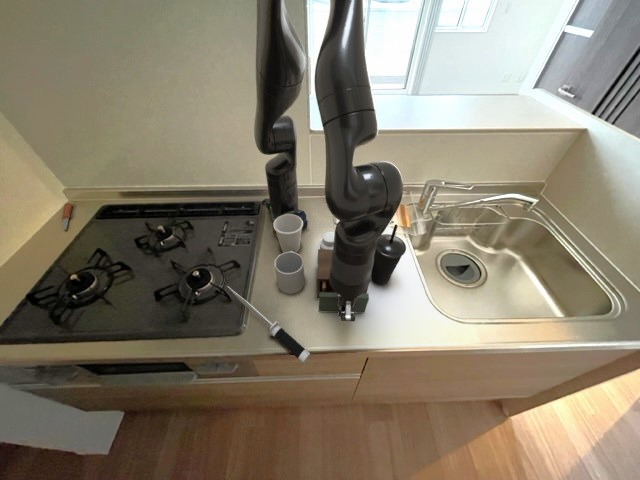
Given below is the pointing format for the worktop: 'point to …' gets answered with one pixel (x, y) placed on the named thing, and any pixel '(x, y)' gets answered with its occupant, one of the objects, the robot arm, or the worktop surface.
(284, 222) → the dixie cup
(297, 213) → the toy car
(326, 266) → the cabinet
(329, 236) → the supplement bottle
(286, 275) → the cup
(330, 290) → the drawer
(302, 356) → the knife
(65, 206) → the kitchen knife
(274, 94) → the robot arm
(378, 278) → the drinking cup
